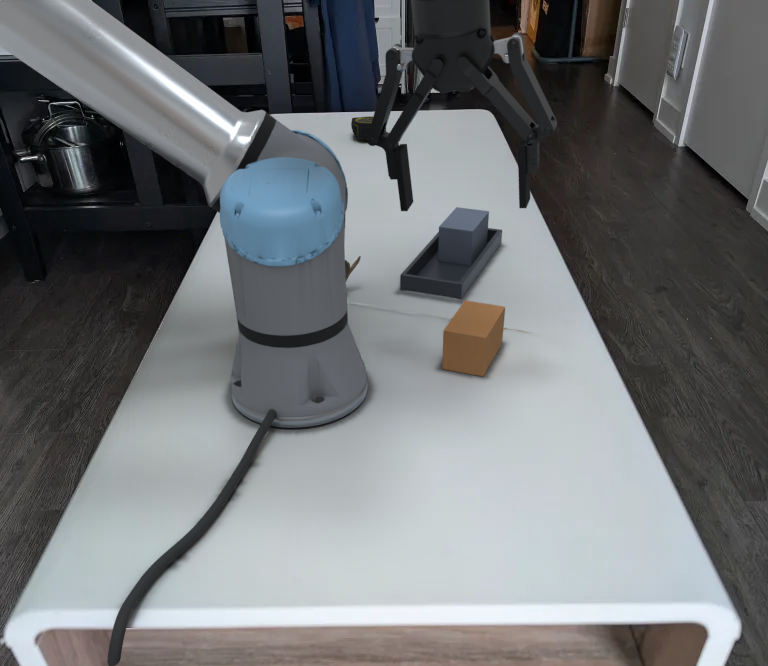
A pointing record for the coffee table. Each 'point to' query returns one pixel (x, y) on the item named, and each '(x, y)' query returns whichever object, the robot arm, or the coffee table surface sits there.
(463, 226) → the grey block
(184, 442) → the coffee table surface
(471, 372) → the brown block
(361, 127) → the tape measure
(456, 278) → the carrier tray
